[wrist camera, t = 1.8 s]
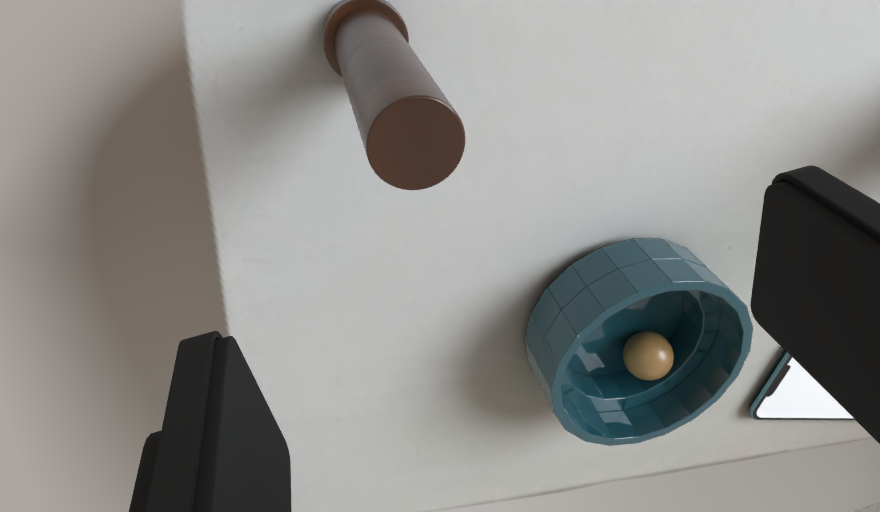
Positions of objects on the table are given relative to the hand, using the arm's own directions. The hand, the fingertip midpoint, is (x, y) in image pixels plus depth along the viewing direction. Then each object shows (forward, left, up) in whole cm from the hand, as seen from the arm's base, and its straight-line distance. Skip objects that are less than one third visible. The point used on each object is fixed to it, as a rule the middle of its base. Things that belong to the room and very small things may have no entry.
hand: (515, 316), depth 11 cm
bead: (+12, -22, -18) cm, 31 cm away
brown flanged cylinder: (0, 0, -20) cm, 20 cm away
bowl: (+11, -20, -20) cm, 30 cm away
